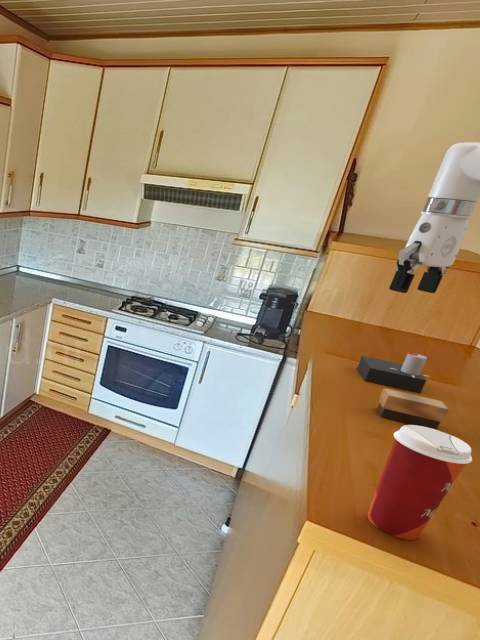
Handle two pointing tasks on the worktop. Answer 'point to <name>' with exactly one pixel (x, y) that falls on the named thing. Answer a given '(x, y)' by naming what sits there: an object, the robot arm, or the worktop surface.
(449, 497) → the worktop surface
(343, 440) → the worktop surface
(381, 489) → the paper cup
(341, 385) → the worktop surface
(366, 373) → the stove
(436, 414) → the brush
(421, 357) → the stove knob
